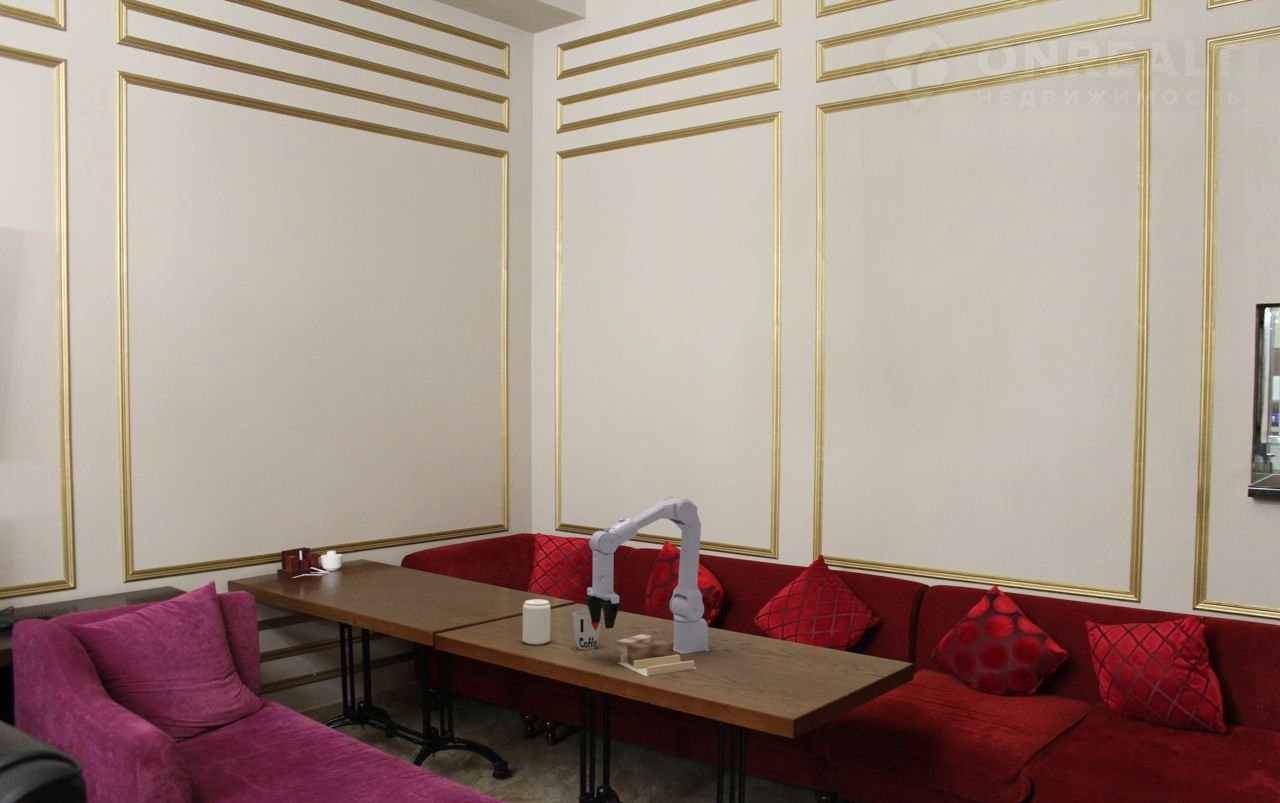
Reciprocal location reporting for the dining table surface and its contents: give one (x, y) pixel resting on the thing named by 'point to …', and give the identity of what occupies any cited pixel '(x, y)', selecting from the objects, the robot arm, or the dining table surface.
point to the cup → (585, 630)
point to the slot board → (658, 665)
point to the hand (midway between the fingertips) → (602, 625)
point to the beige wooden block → (622, 645)
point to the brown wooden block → (649, 650)
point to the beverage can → (536, 622)
